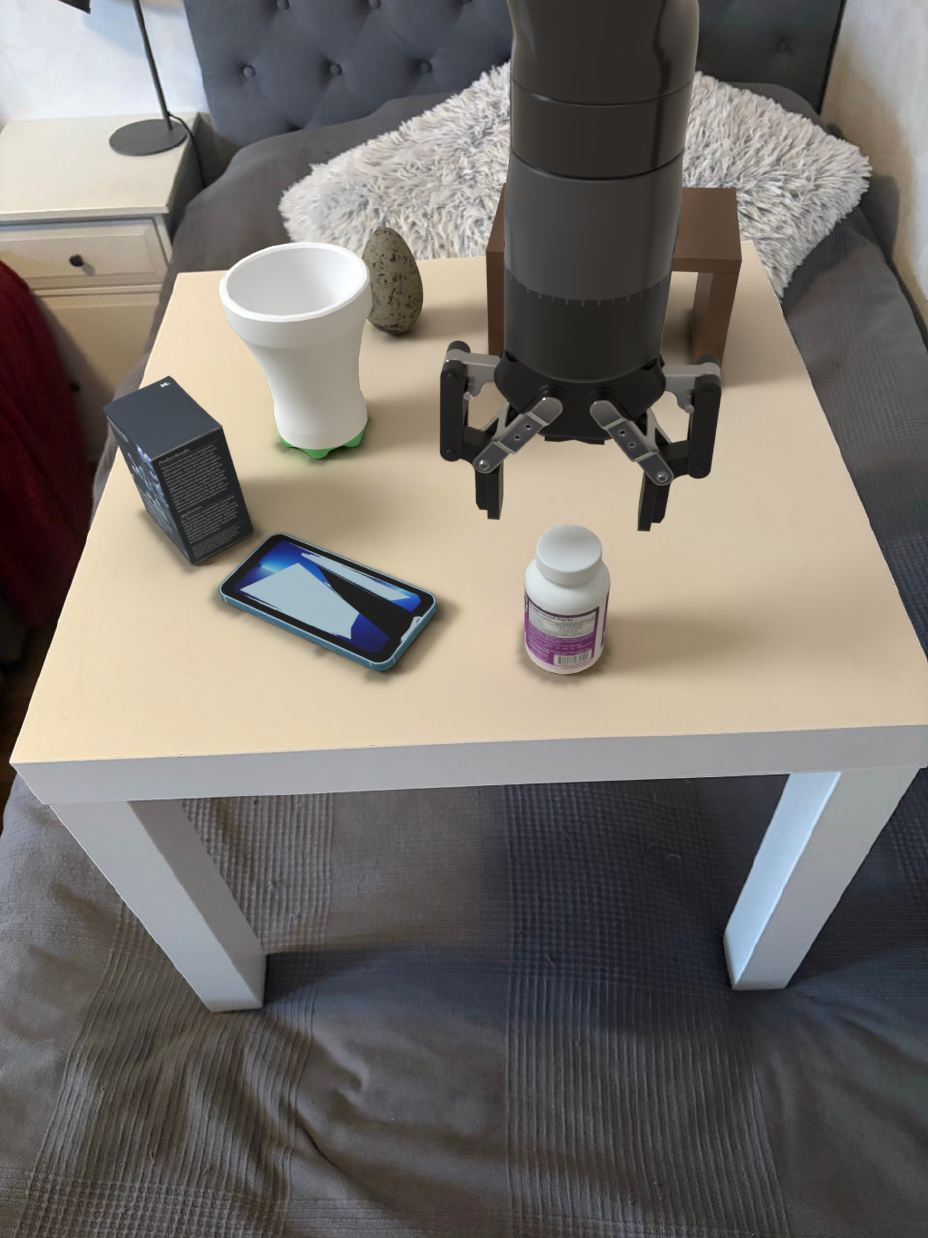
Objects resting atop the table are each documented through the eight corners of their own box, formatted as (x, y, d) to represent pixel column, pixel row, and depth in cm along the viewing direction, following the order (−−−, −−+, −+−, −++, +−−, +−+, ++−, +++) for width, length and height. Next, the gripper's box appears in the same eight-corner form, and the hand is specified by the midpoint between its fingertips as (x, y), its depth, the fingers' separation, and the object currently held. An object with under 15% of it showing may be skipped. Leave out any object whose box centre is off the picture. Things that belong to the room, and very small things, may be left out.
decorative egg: (408, 352, 86) (397, 250, 78) (353, 339, 87) (337, 238, 80) (436, 319, 89) (429, 218, 81) (383, 307, 91) (371, 207, 83)
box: (146, 514, 73) (99, 404, 65) (209, 482, 75) (172, 372, 67) (191, 568, 69) (148, 458, 60) (257, 534, 71) (223, 423, 63)
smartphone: (275, 528, 70) (442, 596, 64) (278, 537, 70) (443, 605, 65) (211, 591, 66) (383, 670, 60) (215, 600, 67) (385, 678, 61)
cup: (335, 492, 73) (304, 336, 63) (232, 447, 78) (186, 294, 67) (415, 416, 79) (399, 262, 68) (315, 379, 83) (285, 227, 73)
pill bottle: (546, 605, 65) (550, 504, 57) (616, 633, 63) (629, 532, 55) (509, 658, 62) (508, 559, 54) (580, 689, 60) (589, 591, 53)
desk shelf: (712, 313, 88) (735, 187, 78) (716, 389, 80) (742, 259, 71) (504, 305, 90) (503, 182, 81) (488, 377, 82) (485, 250, 73)
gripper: (415, 285, 39) (437, 552, 51) (759, 301, 37) (696, 573, 50) (443, 202, 44) (457, 465, 56) (749, 212, 42) (693, 481, 54)
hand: (569, 515), depth 53 cm, fingers open, 8 cm apart
